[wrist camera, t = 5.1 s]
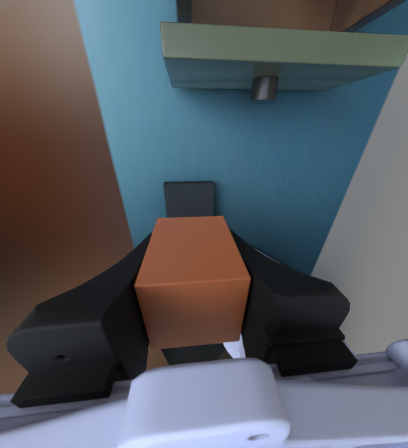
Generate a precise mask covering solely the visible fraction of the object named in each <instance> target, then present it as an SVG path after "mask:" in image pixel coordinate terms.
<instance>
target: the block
mask: <svg viewBox="0 0 408 448" xmlns="http://www.w3.org/2000/svg"><path fill="white" fill-rule="evenodd" d="M250 281H251V277H250V275H249V273H248V271H247V268H246V266H245V264H244V262H243V259H242V257H241V255H240V253H239V250H238V248H237V246H236V244H235V241H234V239H233V237H232V235H231V232H230V230H229V228H228V226H227V223H226V221H225V219H224V217H223V216H204V217H176V218H158V219H157V221H156V224H155V227H154V230H153V233H152V236H151V239H150V242H149V245H148V247H147V250H146V253H145V256H144V259H143V262H142V265H141V268H140V271H139V274H138V276H137V279H136V282H135V285H134V288H135V291H136V295H137V299H138V302H139V306H140V310H141V313H142V317H143V321H144V324H145V328H146V332H147V335H148V339H149V343H150V346H151V349H152V350H153V349H164V348H174V347H184V346H194V345H205V344H215V343H225V342H235V341H239V340H240V335H241V329H242V324H243V318H244V313H245V308H246V302H247V297H248V292H249V286H250Z"/></svg>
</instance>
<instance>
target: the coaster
mask: <svg viewBox="0 0 408 448" xmlns="http://www.w3.org/2000/svg"><path fill="white" fill-rule="evenodd" d="M214 186H215V184H214V182H213V181H186V182H165V183H164V193H165V202H166V211H167V218H176V217H204V216H214Z"/></svg>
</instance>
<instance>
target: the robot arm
mask: <svg viewBox="0 0 408 448" xmlns="http://www.w3.org/2000/svg"><path fill="white" fill-rule="evenodd" d="M230 232H231V235H232V237H233V239H234V241H235V244H236V246H237V248H238V250H239V253H240V255H241V257H242V259H243V262H244V264H245V266H246V268H247V271H248V273H249V275H250V277H251V281H250V286H249V292H248V297H247V302H246V308H245V313H244V318H243V324H242V329H241V335H240V340H239V341H235V342H225V343H223V344H224V346H225V348H226V350H227V351H228V352H229V354H230V355H231V356H232V357H233V358H234V359H226V360H216V361H207V362H197V363H188V364H178V365H169V366H161V367H158V368H153V369H149V370H146V365H147V364H146V363H147V355H148V346H149V339H148V335H147V332H146V328H145V324H144V321H143V317H142V313H141V310H140V306H139V302H138V299H137V295H136V291H135V288H134V285H135V282H136V279H137V276H138V274H139V271H140V268H141V265H142V262H143V259H144V256H145V253H146V250H147V247H148V245H149V242H150V239H151V236H152V233H150V234H149V235H148V236H147V237H146V238H145V239H144V240H143V241H142V242H141V243H140V244H139V245H138V246H137V247H136V248H135V249H134V250H133V251H131V252H130V253H129V254H128V255H127V256H125V257H124V258H123V259H122V260H120V261H119V262H118V263H116V264H115V265H113V266H112V267H111V268H109V269H107V270H106V271H104V272H103V273H101V274H99V275H98V276H96V277H94V278H93V279H91V280H89V281H87V282H85V283H84V284H82V285H80V286H78V287H76V288H74V289H71V290H70V291H67V292H65V293H63V294H61V295H59V296H56V297H54V298H51V299H49V300H47V301H45V302H42V303H40V304H38V305H36V307H35V308H34V309H33V310H32V311H31V312H30V313H29V314H28V316H27V317H26V318H25V319H24V320H23V321H22V322H21V324H20V325H19V326H18V327H17V328H16V329H15V330H14V332H13V333H12V334H11V335H10V336H9V338H8V340H7V342H6V345H7V350H8V352H9V353H10V355H11V356H12V357H13V358H14V359H15V360H16V361H17V362H18V363H19V364H21V365H22V366H23V367H24V368H25V369H26V370H27V371H28V372H29V373H28V375H27V376H26V378H25V379H24V381H23V382H22V384H21V385H20V387H19V388H18V390H17V392H16V393H10V394H1V395H0V448H408V339H405V340H399V341H395V342H393V343H392V344H390V345H389V346H388V347H387V349H386V351H385V352H376V353H368V354H359V355H355V354H354V353H353V351H352V350H351V348H350V347H349V346H348V345H347V343H346V342H345V341H344V339H345V336H344V334H343V333H342V332H341V331H340V329H339V327H340V326H341V324H342V322H343V321H344V319H345V318H346V316H347V314H348V312H349V310H350V303H349V301H348V299H347V298H346V297H345V296H344V295H343V294H342V293H341V292H340V291H339V290H338V289H337V288H336V287H335V286H334V285H333V284H332V283H330V282H328V281H324V280H321V279H318V278H315V277H312V276H309V275H306V274H303V273H301V272H298V271H296V270H293V269H291V268H289V267H286V266H284V265H282V264H280V263H279V262H277V261H275V260H273V259H272V258H270V257H268V256H267V255H265V254H263V253H262V252H260V251H258V250H257V249H255V248H253V247H252V246H250V245H249V244H248V243H246V242H245V241H244V240H243V239H241V238H240V237H239V236H238V235H237V234H235V233H234V232H233V231H232V230H230Z"/></svg>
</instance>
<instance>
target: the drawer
mask: <svg viewBox="0 0 408 448" xmlns="http://www.w3.org/2000/svg"><path fill="white" fill-rule="evenodd" d="M405 1H406V0H176V11H177V22H160V30H161V42H162V54H163V59H164V62H165V65H166V69H167V72H168V75H169V78H170V81H171V85H172V87H175V88H214V89H252V92H251V103H254V104H266V103H272V102H274V101H275V98H276V92H277V90H293V91H326V90H329V89H332V88H335V87H339V86H342V85H345V84H348V83H351V82H355V81H358V80H361V79H364V78H368V77H371V76H374V75H377V74H380V73H384V72H387V71H390V70H393V69H396V68H399V67H401V66H402V64H403V61H404V60H405V57H406V55H407V52H408V35H390V34H372V33H354V32H355V31H357V30H358V29H360V28H362V27H363V26H365V25H367V24H368V23H370V22H372V21H373V20H375V19H376V18H378V17H380V16H381V15H383V14H385V13H386V12H388V11H390V10H391V9H393V8H395V7H396V6H398V5H400V4H401V3H403V2H405Z"/></svg>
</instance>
